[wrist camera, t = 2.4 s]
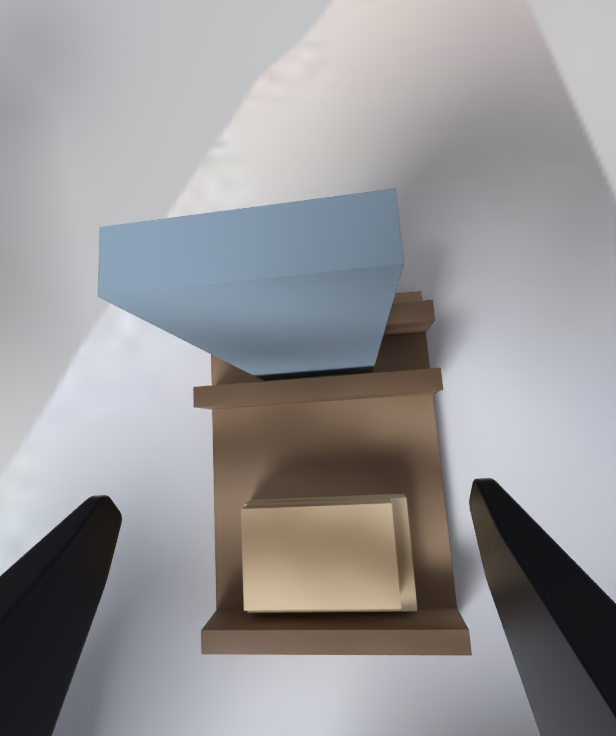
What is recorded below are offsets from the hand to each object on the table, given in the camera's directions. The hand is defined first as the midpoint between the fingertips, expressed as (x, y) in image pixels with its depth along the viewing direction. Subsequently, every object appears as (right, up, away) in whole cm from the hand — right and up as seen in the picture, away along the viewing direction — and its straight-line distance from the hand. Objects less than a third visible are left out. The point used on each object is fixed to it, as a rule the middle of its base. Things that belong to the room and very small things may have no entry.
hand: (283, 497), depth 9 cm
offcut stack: (+2, -6, +10) cm, 12 cm away
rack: (+1, -2, +12) cm, 12 cm away
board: (+1, +3, +12) cm, 12 cm away
